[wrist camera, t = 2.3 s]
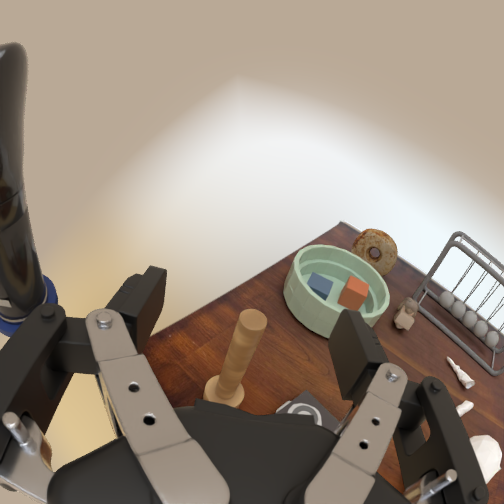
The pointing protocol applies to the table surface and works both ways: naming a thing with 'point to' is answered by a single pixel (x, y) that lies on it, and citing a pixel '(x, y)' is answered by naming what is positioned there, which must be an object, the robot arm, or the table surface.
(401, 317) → the toy character
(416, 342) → the table surface
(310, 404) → the electronic device
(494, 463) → the perfume bottle
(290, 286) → the bowl
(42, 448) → the robot arm
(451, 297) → the newton's cradle
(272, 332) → the table surface
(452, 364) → the sculpted arms
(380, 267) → the bagel
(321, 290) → the block slate
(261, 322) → the cylinder
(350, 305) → the block terracotta
